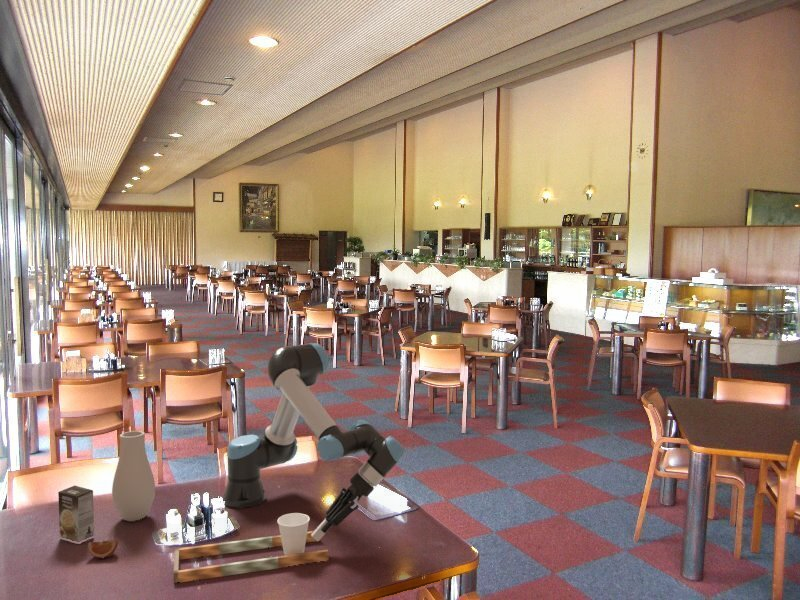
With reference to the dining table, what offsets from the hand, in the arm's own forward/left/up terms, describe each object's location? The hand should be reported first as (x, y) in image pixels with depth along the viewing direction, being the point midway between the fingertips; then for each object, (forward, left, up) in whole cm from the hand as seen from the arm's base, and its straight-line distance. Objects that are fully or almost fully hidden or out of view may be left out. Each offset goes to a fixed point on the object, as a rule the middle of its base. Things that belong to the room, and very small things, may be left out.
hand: (314, 538), depth 201 cm
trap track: (-12, -15, -4) cm, 20 cm away
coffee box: (-69, -37, -5) cm, 79 cm away
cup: (-4, -5, -5) cm, 8 cm away
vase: (-68, -17, -5) cm, 70 cm away
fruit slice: (-51, -39, -5) cm, 64 cm away
